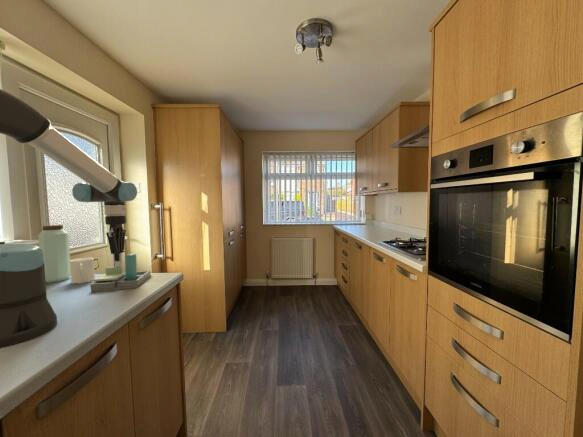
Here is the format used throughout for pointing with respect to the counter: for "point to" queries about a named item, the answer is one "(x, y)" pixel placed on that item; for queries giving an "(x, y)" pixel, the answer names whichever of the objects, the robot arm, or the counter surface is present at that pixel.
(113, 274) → the cover
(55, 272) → the water bottle
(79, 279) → the mug
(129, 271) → the pin
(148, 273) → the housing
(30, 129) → the robot arm
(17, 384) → the counter surface
